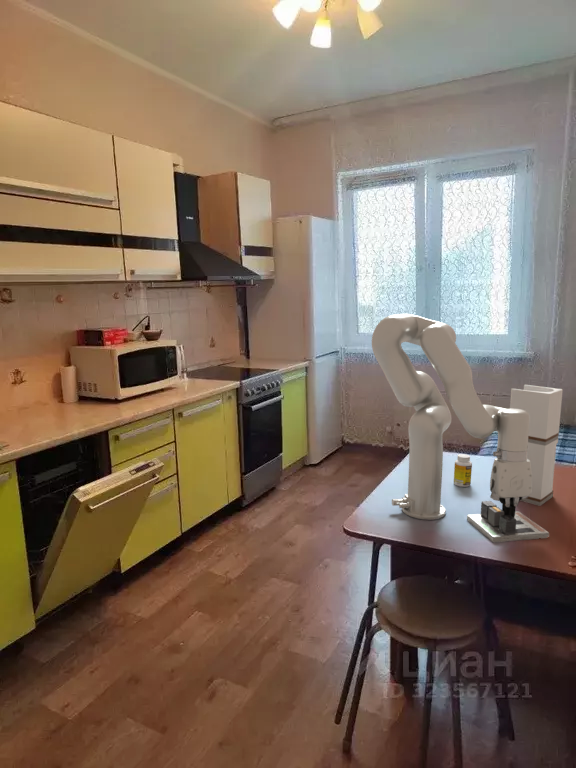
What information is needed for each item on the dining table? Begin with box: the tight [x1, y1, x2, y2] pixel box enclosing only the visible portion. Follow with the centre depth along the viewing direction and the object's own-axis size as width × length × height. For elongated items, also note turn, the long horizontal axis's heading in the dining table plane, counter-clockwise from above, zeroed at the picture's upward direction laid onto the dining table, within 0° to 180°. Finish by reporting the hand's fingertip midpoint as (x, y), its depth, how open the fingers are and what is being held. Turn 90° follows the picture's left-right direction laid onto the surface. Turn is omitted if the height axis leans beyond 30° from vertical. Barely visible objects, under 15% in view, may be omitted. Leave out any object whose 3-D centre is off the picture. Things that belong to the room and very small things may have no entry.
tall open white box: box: [509, 384, 563, 507], centre depth 166 cm, size 11×11×35 cm
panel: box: [466, 500, 550, 543], centre depth 145 cm, size 16×14×6 cm
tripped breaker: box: [488, 506, 504, 526], centre depth 145 cm, size 3×3×4 cm
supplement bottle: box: [453, 453, 473, 488], centre depth 178 cm, size 6×6×10 cm
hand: (508, 518), depth 145 cm, fingers closed
